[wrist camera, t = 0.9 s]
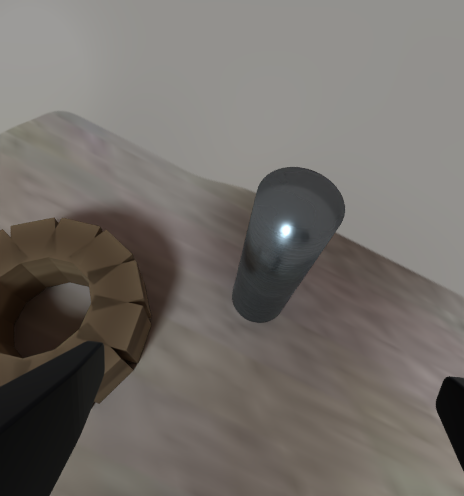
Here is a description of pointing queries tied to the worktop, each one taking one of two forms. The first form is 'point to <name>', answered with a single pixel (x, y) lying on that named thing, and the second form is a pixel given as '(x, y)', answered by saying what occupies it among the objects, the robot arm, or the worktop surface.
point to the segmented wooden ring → (80, 272)
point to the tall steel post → (284, 239)
